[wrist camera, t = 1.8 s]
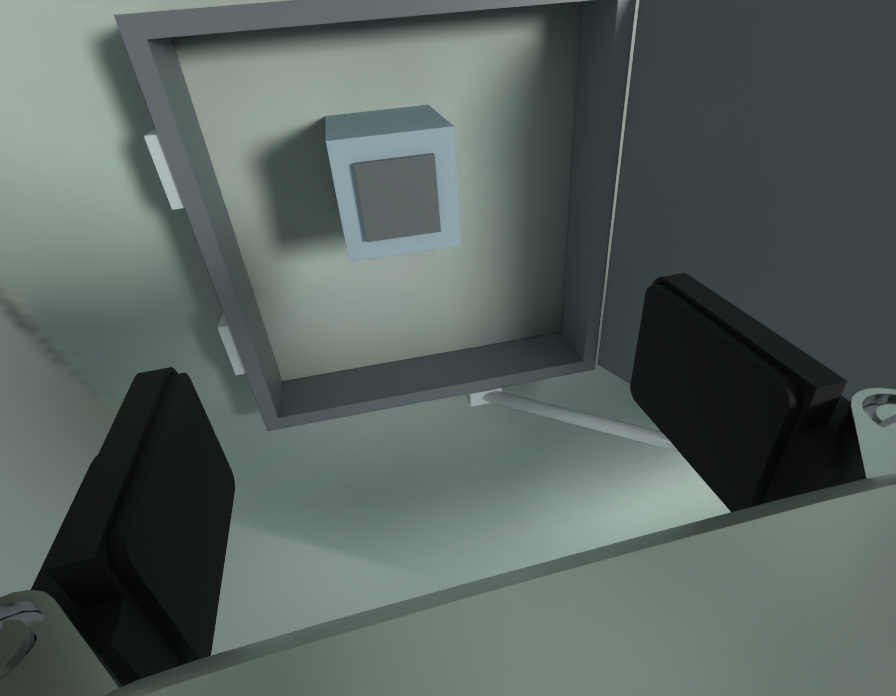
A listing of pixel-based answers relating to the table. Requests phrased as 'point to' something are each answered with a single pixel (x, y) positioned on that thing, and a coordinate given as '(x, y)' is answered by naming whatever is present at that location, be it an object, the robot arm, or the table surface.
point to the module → (394, 181)
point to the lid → (764, 174)
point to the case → (424, 377)
